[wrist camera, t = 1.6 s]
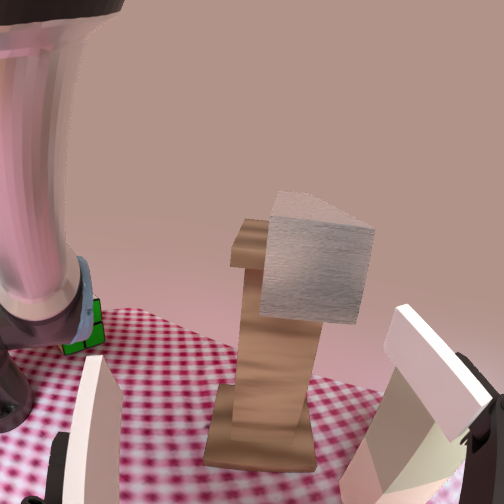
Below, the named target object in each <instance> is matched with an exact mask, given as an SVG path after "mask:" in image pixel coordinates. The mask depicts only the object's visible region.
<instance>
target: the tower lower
mask: <svg viewBox="0 0 504 504" xmlns="http://www.w3.org/2000/svg"><path fill="white" fill-rule="evenodd" d="M449 478H450V477H448V478H445V479H442V480H438V481H435V482H432V483H428V484H425V485H421V486H418V487H414V488H410V489H405V490H401V491H397V492H392V493H387V494H383V493H382V489H381V486H380V483H379V479H378V476H377V473H376V470H375V466H374V463H373V460H372V457H371V454H370V451H369V447H368V444H367V441H366V438H365V436H364V438H363V440H362V442H361V444H360V446H359V448H358V450H357V451H356V453H355V455H354V457H353V459H352V460H351V462H350V464H349V466H348V467H347V469H346V471H345V472H344V474H343V476H342V477H341V479H340V481H339V482H338V483H339V488H340V494H341V499H342V504H425V503H426V502H427V501H428V500H429V499H430V498H431V497H432V496H433V495H434V494H435V493H436V492H437V491H438V490H439V489H440V488H441V487H442V486H443V485H444V484H445V483H446V481H447V480H448V479H449Z"/></svg>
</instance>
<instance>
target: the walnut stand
mask: <svg viewBox="0 0 504 504" xmlns="http://www.w3.org/2000/svg"><path fill="white" fill-rule="evenodd" d="M268 227H269V221H263V220H253V219H245V220H244V222H243V224H242V226H241V228H240V231H239V233H238V235H237V237H236V239H235V241H234V243H233V246H232V250H231V262H230V267H238V268H245V276H244V287H243V298H242V310H241V321H240V333H239V344H238V356H237V368H236V380H235V385H228V384H220V383H219V387H218V391H217V396H216V401H215V405H214V410H213V415H212V419H211V424H210V429H209V433H208V438H207V443H206V448H205V452H204V457H203V465H204V466H211V467H218V468H226V469H236V470H247V471H261V472H315V469H316V467H317V463H316V456H315V449H314V443H313V436H312V430H311V423H310V417H309V411H308V405H307V398H306V392H307V388H308V385H309V381H310V377H311V373H312V369H313V364H314V360H315V356H316V352H317V347H318V343H319V338H320V334H321V329H322V324H323V322H315V321H305V320H295V319H285V318H276V317H268V316H259V311H260V302H261V293H262V284H263V274H264V265H265V256H266V246H267V237H268Z"/></svg>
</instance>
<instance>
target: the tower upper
mask: <svg viewBox="0 0 504 504" xmlns="http://www.w3.org/2000/svg"><path fill="white" fill-rule="evenodd" d="M469 431H470V430H469V428H467V429H466V431H465V432H464V433H463V434H462V435H461V436H459V437H458V438H456V439H455V440H453V441H452V442H449V441H448V439H447V438H446V436H445V435H444V433H443V432H442V430H441V429H440V428H439V426H438V425H437V423H436V422H435V420H434V419H433V417H432V416H431V414H430V413H429V412H428V410H427V409H426V407H425V406H424V404H423V403H422V402H421V400H420V399H419V397H418V396H417V395H416V393H415V392H414V390H413V389H412V388H411V386H410V385H409V383H408V382H407V381H406V379H405V378H404V376H403V375H402V374H401V372H400V371H399V370H398V368H397V367H395V369H394V372H393V375H392V377H391V379H390V382H389V384H388V387H387V389H386V391H385V394H384V396H383V398H382V401H381V403H380V405H379V407H378V410H377V412H376V414H375V416H374V418H373V420H372V422H371V424H370V426H369V428H368V430H367V432H366V434H365V438H366V441H367V444H368V447H369V451H370V454H371V457H372V460H373V463H374V466H375V470H376V473H377V476H378V479H379V483H380V486H381V489H382V493H383V494H387V493H392V492H397V491H401V490H405V489H410V488H414V487H418V486H421V485H425V484H428V483H432V482H435V481H438V480H442V479H445V478H448V477H451V476H452V475H453V474H454V472H455V471H456V470H457V469H458V468H459V467H460V465H461V464H462V463H463V462H464V460H465V459H466V450H467V445H464V444H465V443H466V441H467V440H466V441H465V442H464V443H463V444H462V445H460V441H461V440H462V438H463V437H464V436H465V435H466V434H467V433H468V432H469Z"/></svg>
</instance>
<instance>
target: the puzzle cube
mask: <svg viewBox="0 0 504 504" xmlns="http://www.w3.org/2000/svg"><path fill="white" fill-rule="evenodd" d="M93 314H94V322H93V330H92V333H91V335H90V337H89V338H88V339H86V340H84V341H80V342H75V343H73V344H70V345H65V344H61V345H57V346H58V347H59V349H60V350H61V352H62V353H63V354H64V355H65V356H66V355H69V354H72V353H75V352H78V351H81V350H84V348H89V347H92V346H95V345H98V344H101V343H104V342H105V334H104V327H103V322H102V312H101V304H100V299H99V298H98V297H97V296H96V295H94V294H93Z"/></svg>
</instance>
